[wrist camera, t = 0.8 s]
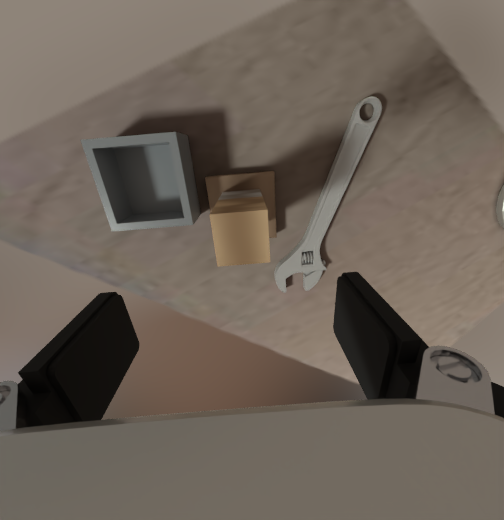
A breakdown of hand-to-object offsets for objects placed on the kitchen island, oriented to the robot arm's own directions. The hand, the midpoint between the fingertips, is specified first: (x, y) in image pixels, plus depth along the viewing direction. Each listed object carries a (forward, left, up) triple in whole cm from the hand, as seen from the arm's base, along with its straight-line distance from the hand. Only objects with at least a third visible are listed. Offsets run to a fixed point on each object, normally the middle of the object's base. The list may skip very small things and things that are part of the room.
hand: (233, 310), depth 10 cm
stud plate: (0, 0, -22) cm, 22 cm away
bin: (+10, -4, -22) cm, 24 cm away
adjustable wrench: (-11, +2, -22) cm, 25 cm away
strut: (0, 0, -20) cm, 20 cm away
